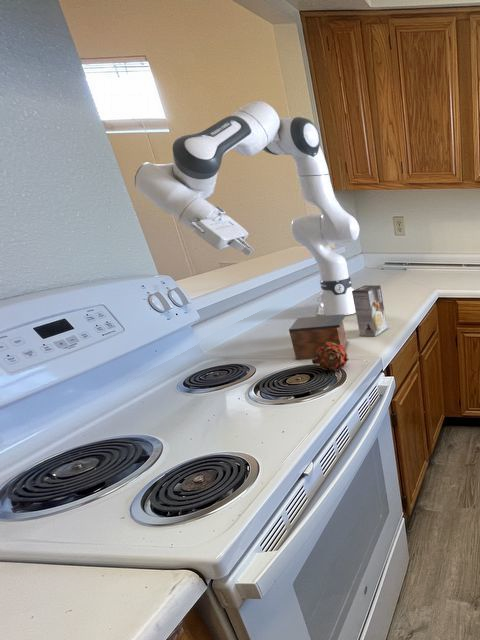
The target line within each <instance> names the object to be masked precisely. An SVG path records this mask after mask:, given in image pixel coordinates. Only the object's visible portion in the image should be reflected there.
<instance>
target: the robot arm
mask: <svg viewBox="0 0 480 640" xmlns="http://www.w3.org/2000/svg"><path fill="white" fill-rule="evenodd" d="M231 150H233V151H235V152H236V153H238V154H241V155H242V156H247V157H252V156H255V155H257V154H260V153H261V151H264V152H265V153H268V154H270V155H274V156H275V155H276V156H279V155H281V156H292V158H293V160H294V167H295V172H296V176H297V180H298V184H299V188H300V192H301V196H302V198H303V199H304V200H305V201H306V202H307V203H308V204H310V205H313V206H315V207H316V208H318V210H319V211H320V212H321V214H304V215H300V216H297V217H294V218H293V219H292V220H291V223H290V232H291V235H292V237H293V238H294V240H295V241H297V243H299V244H301V245H303V247H305V248H306V249H307V250H308V251H309V252H310V254H311V255H312V256H313V258H314V260H315V262H316V265H317V270H318V273H319V278H320V280H319V286H320V288H321V292H320V294H319V296H318V297H317V298H316V299H317V303H318V304H319V306H318V310H317V316H328V315H341V314H344V316H348V315H353V314H356V311H355V305H354V300H353V295H352V291H353V290H356V289H355V288H353V287H352V286H353V285H352V284H353V283H352V279H351V277H350V274H349V269H348V264H347V260H346V258H345V257H344V256H343V255H342V254H340V253H339V252H336V251H334V250H333V249H331V247H330V245H335V244H347V243H351V242H355V241H356V240H358V238H359V236H360V231H361V229H360V224H359V222H358V220H357V219H356V218H355V217H354V216H353V215H351V214H350V213H348V212H347V211H346V210H345V209H344V208H343V207H342V206H341V204H340V203H339V201H338V200H337V197H336V195H335V192H334V189H333V185H332V181H331V176H330V171H329V168H328V163H327V160H326V158H325V154H324V152H323V150H322V147H321V138H320V133H319V130H318V128H317V126H316V125H315V124H314V122H313V121H312V120H310V119H308V118H305V117H302V116H296V117H294V116H293V117H292V116H281V117H279V114H278V113H277V111H276V110H275V108H274V107H273V106H272V105H270V104H269V103H267V102H265V101H262V100H254V101H251V102H249V103H247V104H244V105H243V106H241V107H239V108H237V110H235V111H234V112H233V113H231V114H230V115H229V116H226V117H224V118H222V119H220V120H219V121H217V122H215V123H214V124H212V125H210V126H209V127H207V128H206V129H204V130H202V131H199V132H197V133H191V134H186V135H182V136H179V137H177V138H176V139H175V140H174V142H173V144H172V163H165V164H161V163H159V164H157V163H152V162H144V163H142V164H141V165H140V166H139V168H138V169H137V170H136V173H135V175H134V186H135V189H136V191H138V192H139V193H140V194H141V195H142V196H143V197H144V198H145V199H147V200H148V201H149V202H151V203H152V204H154V206H156V207H157V208H159V209H160V210H162V211H163V212H165V213H168V214H170V215H171V216H173V217H174V218H175V220H177V221H178V222H179V223H180V224H182V225H183V226H185V227H186V228H188V229H189V230H190V231H191V232H193V233H195V234H196V235H197V236H198V237H199V238H201V239H202V240H203V241H204V242H206V243H207V244H209V245H210V246H211V247H213V248H214V249H217V250H222V249H225V248H229V247H232V248H233V249H235V250H237V251H240V252H241V253H243V254H245V255H246V256H249V255H252V254H253V253H254V248H253V246H250V245H249V243H247V242H246V240H247V238H248V236H249V234H250V233H249V232H248V230H246V228H244V227H243V226H242V225H241V224H239V223H238V222H237V221H236V220H235V219H233V218H232V217H230V216H229V215H227V214H226V213H227V212H226V211H225V210H224V209H223V208H222V207H219V206H217V205H214V204H212V203H211V202H209V201H207V199H209V198H211V196H212V195H213V194H214V192H215V188H216V184H217V179H218V174H219V170H220V168H221V165H222V160H223V156H224V155H226V154H227V153H228V152H230V151H231ZM329 244H330V245H329Z"/></svg>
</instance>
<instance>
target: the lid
mask: <svg viewBox="0 0 480 640" xmlns="http://www.w3.org/2000/svg"><path fill="white" fill-rule="evenodd" d="M344 318H345V315H344V314H341V315H328V316H318V315H317V316H305V317H297V318H296V320H295V321H294V322H293V323H292V325H291V326H290V327H289V328H288V332H289V333H290V332H294V331H306V330H317V329H328V328H339V327H340V326H341V323H342V321H343V322H344Z"/></svg>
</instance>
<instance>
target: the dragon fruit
mask: <svg viewBox="0 0 480 640" xmlns="http://www.w3.org/2000/svg"><path fill="white" fill-rule="evenodd" d="M345 348H346V347H345ZM345 348H344V347H343V346H341V345H340V344H338V345H337V344H335V343H333V342H327V343H326V344H325V345H324V346H323V347H319V348H318V350H317V351H316V355H317V356H316V355H314V358H311V363H312V364H313V365H319V367H320V369H321V368H324V369H322V370H324V371H326V372H327V371H331V372H339V371H340V370H341V369H343V368H344V367H345V365H347V362H348V361H349V360H350V359H349V356H348V354H347V352H346V349H345ZM315 356H316V357H315ZM326 368H327V369H326Z"/></svg>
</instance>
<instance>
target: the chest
mask: <svg viewBox="0 0 480 640" xmlns="http://www.w3.org/2000/svg"><path fill="white" fill-rule="evenodd" d="M289 336H290V340H291V345H292V348H293V352H294V356H295V359H296V360H304V359H315V358H316V356H317V355H316V351H317V350H318V348H319V347H323V346H324V345H325V344H326V343H327V342H333V343H335V344H337V345H338V344H340V345H341V346H343V347H344V348H346V346H347V342H348V340H347V336H346V331H345V325H344V320H343V321H342V323H341V326H340V327H339V328H328V329H317V330H306V331H294V332H289ZM314 355H316V356H315V357H314Z"/></svg>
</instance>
